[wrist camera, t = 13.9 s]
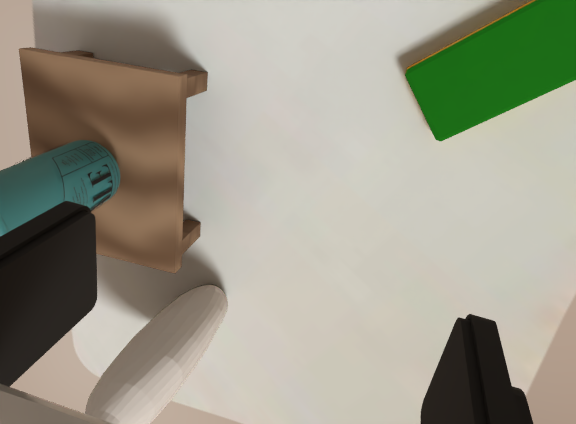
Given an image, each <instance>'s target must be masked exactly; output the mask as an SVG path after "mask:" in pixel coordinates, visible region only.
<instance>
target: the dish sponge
mask: <svg viewBox="0 0 576 424" xmlns="http://www.w3.org/2000/svg"><path fill="white" fill-rule="evenodd" d="M405 76H406V78H407V81H408V83H409V85H410V87H411V89H412V91H413V93H414V95H415V97H416V99H417V101H418V103H419V106H420V108H421V110H422V112H423V114H424V116H425V118H426V120H427V122H428V124H429V126H430V129H431V131H432V133H433V135H434V137H435V139H436V140H438V141H443V140H445V139H447V138H449V137H452V136H454V135H456V134H458V133H460V132H463V131H465V130H467V129H469V128H471V127H474V126H476V125H478V124H480V123H482V122H484V121H487V120H489V119H491V118H493V117H495V116H498V115H500V114H502V113H504V112H506V111H509V110H511V109H513V108H515V107H517V106H519V105H522V104H524V103H526V102H528V101H530V100H533V99H535V98H537V97H539V96H541V95H544V94H546V93H548V92H550V91H552V90H554V89H557V88H559V87H561V86H563V85H565V84H568V83H570V82H572V81H574V80H576V0H532V1H530V2H528V3H526V4H524V5H523V6H521V7H519V8H517V9H515V10H513V11H511V12H510V13H508V14H506V15H504V16H502V17H500V18H498V19H496V20H495V21H493V22H491V23H489V24H487V25H485V26H483V27H482V28H480V29H478V30H476V31H474V32H472V33H470V34H469V35H467V36H465V37H463V38H461V39H459V40H457V41H456V42H454V43H452V44H450V45H448V46H446V47H444V48H443V49H441V50H439V51H437V52H435V53H433V54H431V55H430V56H428V57H426V58H424V59H422V60H420V61H418V62H417V63H415V64H413V65H411V66H409V67H407V70H406V73H405Z"/></svg>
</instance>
